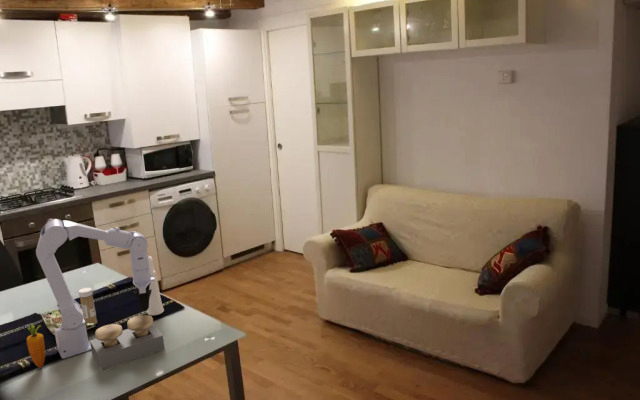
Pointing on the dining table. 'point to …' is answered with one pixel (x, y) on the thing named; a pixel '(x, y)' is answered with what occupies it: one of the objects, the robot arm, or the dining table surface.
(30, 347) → the carrot
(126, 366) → the dining table surface
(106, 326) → the left peg
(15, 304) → the dining table surface
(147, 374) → the dining table surface
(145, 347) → the peg block
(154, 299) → the cosmetic bottle
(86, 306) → the sprinkles bottle
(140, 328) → the right peg
